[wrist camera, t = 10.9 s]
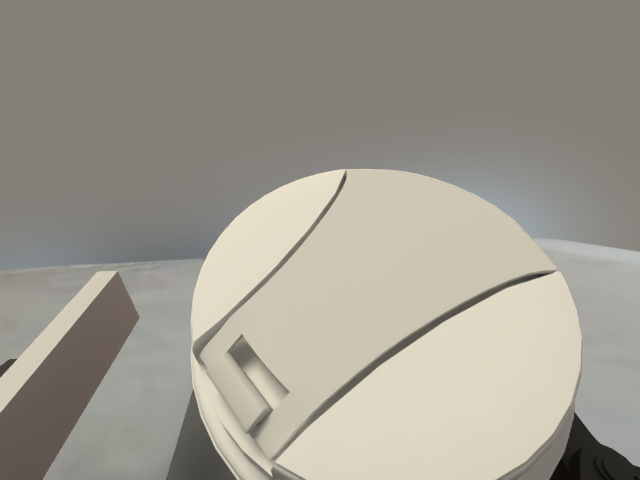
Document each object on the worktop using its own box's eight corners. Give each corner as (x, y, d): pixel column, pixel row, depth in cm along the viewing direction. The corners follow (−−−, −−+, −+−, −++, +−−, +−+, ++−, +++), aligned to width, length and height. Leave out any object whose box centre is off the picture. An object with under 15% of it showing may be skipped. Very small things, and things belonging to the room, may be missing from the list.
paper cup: (366, 576, 12) (460, 970, 2) (259, 423, 16) (98, 273, 6) (461, 421, 15) (679, 248, 5) (352, 328, 19) (354, 128, 9)
